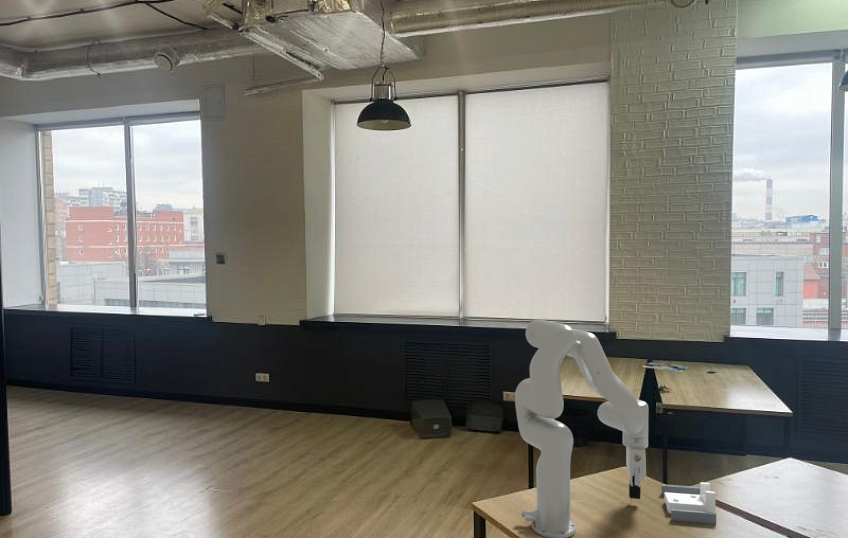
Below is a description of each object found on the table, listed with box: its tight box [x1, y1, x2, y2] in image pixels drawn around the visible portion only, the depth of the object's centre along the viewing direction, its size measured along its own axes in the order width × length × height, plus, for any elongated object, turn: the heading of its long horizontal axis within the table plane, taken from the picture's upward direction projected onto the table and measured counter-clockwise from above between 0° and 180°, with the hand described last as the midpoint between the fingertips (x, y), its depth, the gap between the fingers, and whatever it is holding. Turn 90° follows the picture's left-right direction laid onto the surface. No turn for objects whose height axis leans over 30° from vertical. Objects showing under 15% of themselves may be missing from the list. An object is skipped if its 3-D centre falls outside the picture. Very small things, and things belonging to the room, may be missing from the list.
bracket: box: [663, 481, 716, 514], centre depth 175 cm, size 13×7×8 cm, turn 77°
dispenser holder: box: [661, 483, 717, 525], centre depth 176 cm, size 12×18×3 cm, turn 167°
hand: (634, 497), depth 180 cm, fingers closed
